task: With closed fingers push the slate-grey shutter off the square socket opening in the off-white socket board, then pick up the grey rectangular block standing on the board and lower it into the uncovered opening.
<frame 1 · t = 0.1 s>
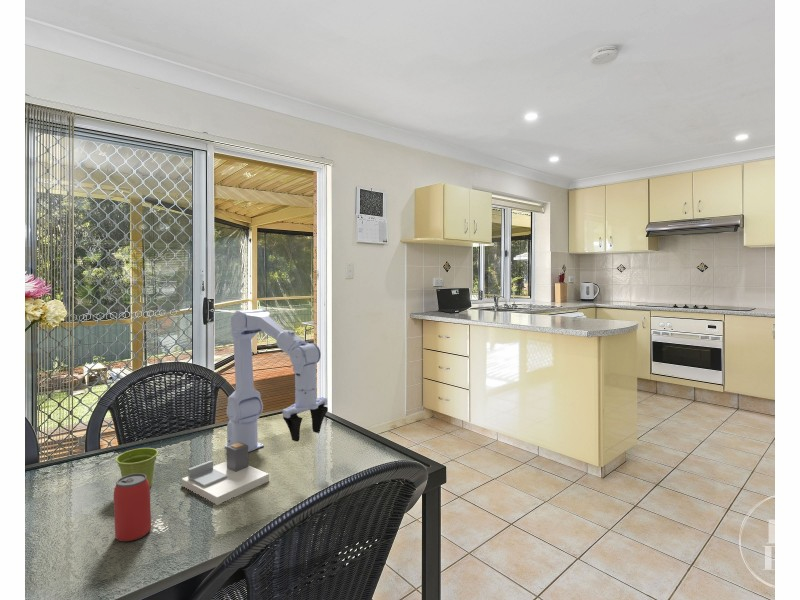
hand: (306, 436, 124), 10 cm above the table, tool pointing down, fingers open, 7 cm apart
beer can: (133, 534, 95), on the table
grey rectangular block: (237, 467, 122), point 2 cm above the table, touching socket board
plant pot: (138, 488, 115), on the table
socket board: (225, 483, 117), on the table
shutter: (207, 473, 116), point 3 cm above the table, slide at 0.0 cm
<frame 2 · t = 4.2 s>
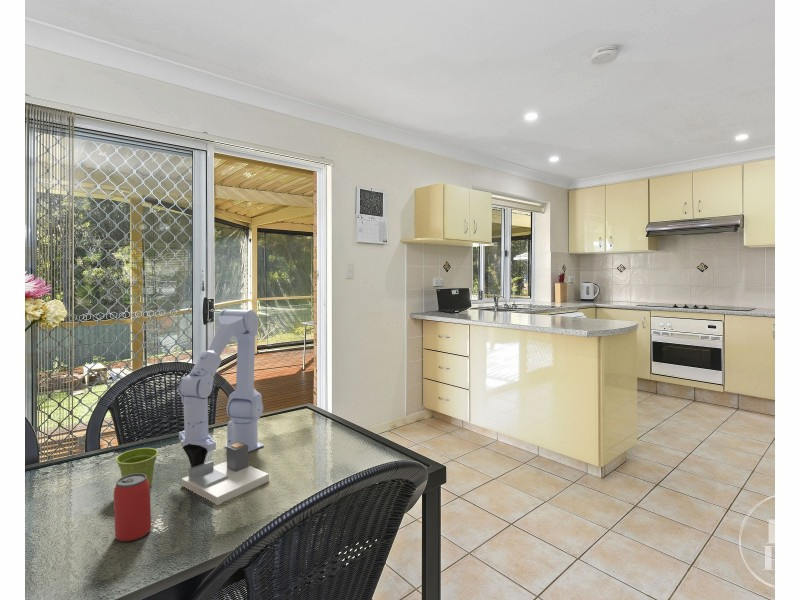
hand: (197, 470, 118), 3 cm above the table, tool pointing down, fingers closed
shutter: (208, 473, 115), point 3 cm above the table, slide at 0.2 cm, touching gripper
everything else where it was.
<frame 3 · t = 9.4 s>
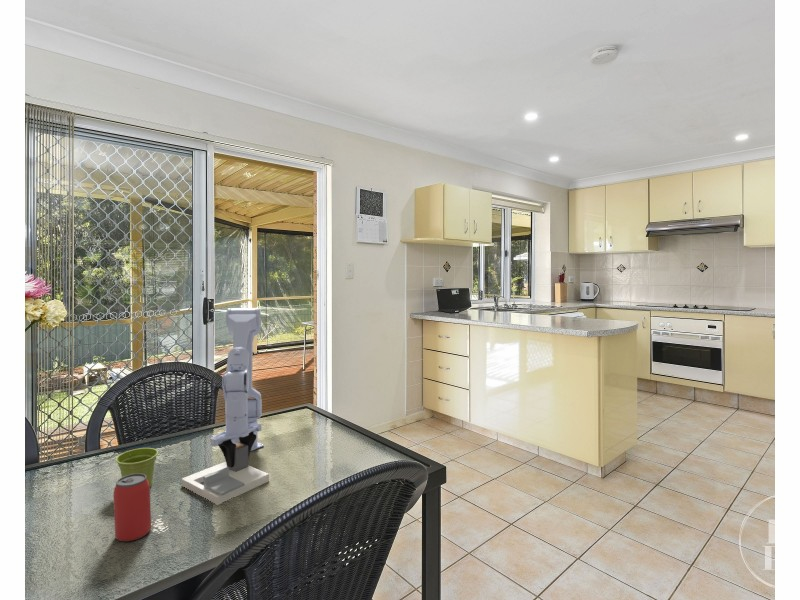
hand: (237, 463, 122), 3 cm above the table, tool pointing down, fingers closed on grey rectangular block, 4 cm apart
grey rectangular block: (237, 467, 122), point 2 cm above the table, touching gripper, socket board
shutter: (224, 481, 111), point 3 cm above the table, slide at 7.2 cm
everything else where it was.
when the fingers open (3 cm above the table, at t = 13.0 s): grey rectangular block stays where it is, resting on socket board.
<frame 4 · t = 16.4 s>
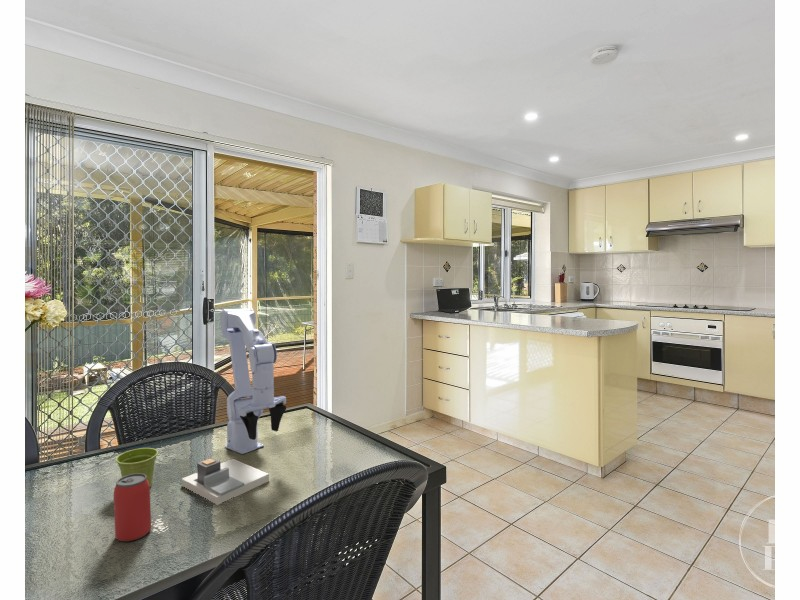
hand: (263, 434, 125), 10 cm above the table, tool pointing down, fingers open, 7 cm apart
grey rectangular block: (209, 485, 115), resting on socket board
everything else where it was.
at the end: grey rectangular block 0.2 cm from the target spot, point 0.5 cm above the table; grey rectangular block tilted 0°; shutter slide at 7.2 cm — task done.
